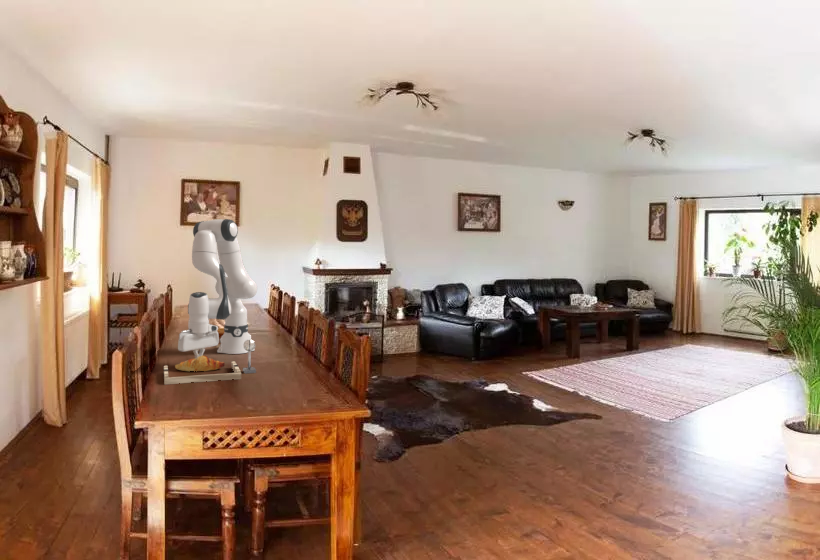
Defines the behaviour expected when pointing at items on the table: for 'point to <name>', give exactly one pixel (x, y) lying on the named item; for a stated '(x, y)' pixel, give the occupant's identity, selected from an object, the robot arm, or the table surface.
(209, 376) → the frame
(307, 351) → the table surface
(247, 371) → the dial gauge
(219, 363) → the croissant
